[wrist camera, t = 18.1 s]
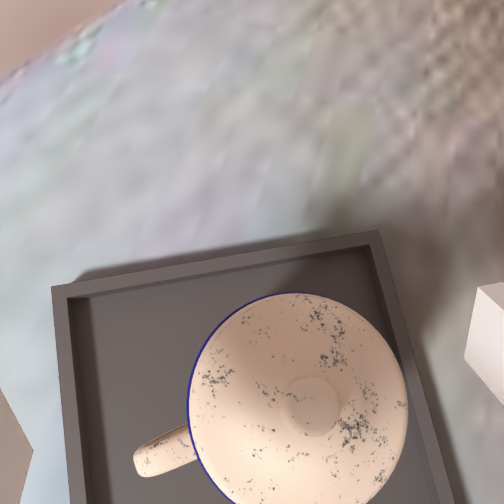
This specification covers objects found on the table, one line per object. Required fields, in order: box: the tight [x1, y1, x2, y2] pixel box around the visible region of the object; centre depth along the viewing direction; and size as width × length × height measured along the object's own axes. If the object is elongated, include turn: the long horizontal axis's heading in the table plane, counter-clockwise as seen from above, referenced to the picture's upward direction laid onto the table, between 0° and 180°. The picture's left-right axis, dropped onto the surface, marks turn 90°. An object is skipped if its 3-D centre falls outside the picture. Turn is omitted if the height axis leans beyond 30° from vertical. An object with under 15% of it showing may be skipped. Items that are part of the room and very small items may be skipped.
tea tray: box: [51, 230, 455, 504], centre depth 26 cm, size 20×18×2 cm
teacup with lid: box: [133, 292, 408, 504], centre depth 21 cm, size 12×9×12 cm
